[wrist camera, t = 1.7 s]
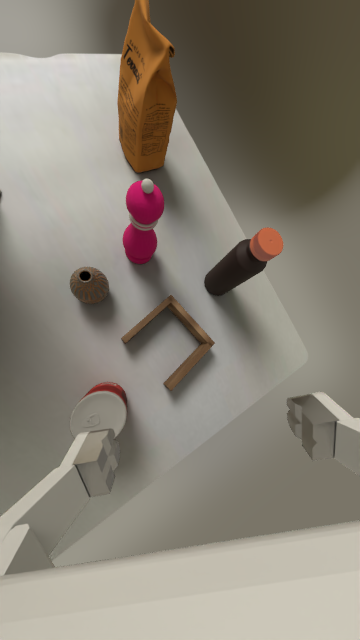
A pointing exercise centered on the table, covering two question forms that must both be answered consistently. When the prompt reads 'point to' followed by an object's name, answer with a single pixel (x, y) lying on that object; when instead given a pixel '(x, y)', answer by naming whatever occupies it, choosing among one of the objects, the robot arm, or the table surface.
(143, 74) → the coffee package
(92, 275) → the vase
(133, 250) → the pepper mill
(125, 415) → the canned food
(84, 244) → the table surface
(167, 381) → the bay
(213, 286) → the bottle
